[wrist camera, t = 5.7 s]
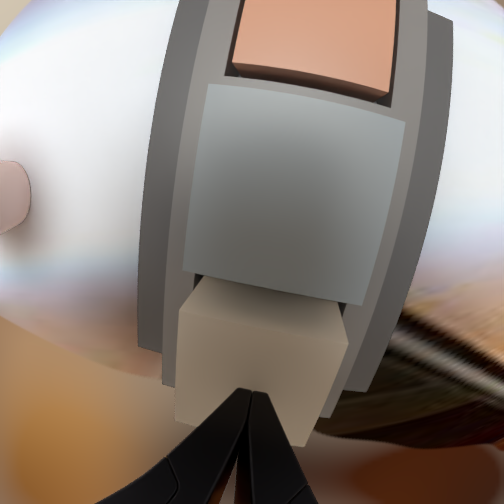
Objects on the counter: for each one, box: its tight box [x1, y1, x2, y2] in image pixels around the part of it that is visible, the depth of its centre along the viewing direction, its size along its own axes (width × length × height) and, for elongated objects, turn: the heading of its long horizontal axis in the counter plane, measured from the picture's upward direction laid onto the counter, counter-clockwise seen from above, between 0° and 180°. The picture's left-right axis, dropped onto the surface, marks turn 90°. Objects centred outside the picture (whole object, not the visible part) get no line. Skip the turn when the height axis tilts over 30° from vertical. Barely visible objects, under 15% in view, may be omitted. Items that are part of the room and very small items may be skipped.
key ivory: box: [174, 276, 349, 447], centre depth 10 cm, size 4×4×2 cm
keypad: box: [138, 0, 453, 418], centre depth 10 cm, size 11×17×3 cm, turn 170°
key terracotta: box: [232, 0, 396, 103], centre depth 8 cm, size 4×4×2 cm
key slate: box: [182, 84, 405, 306], centre depth 8 cm, size 4×4×2 cm
